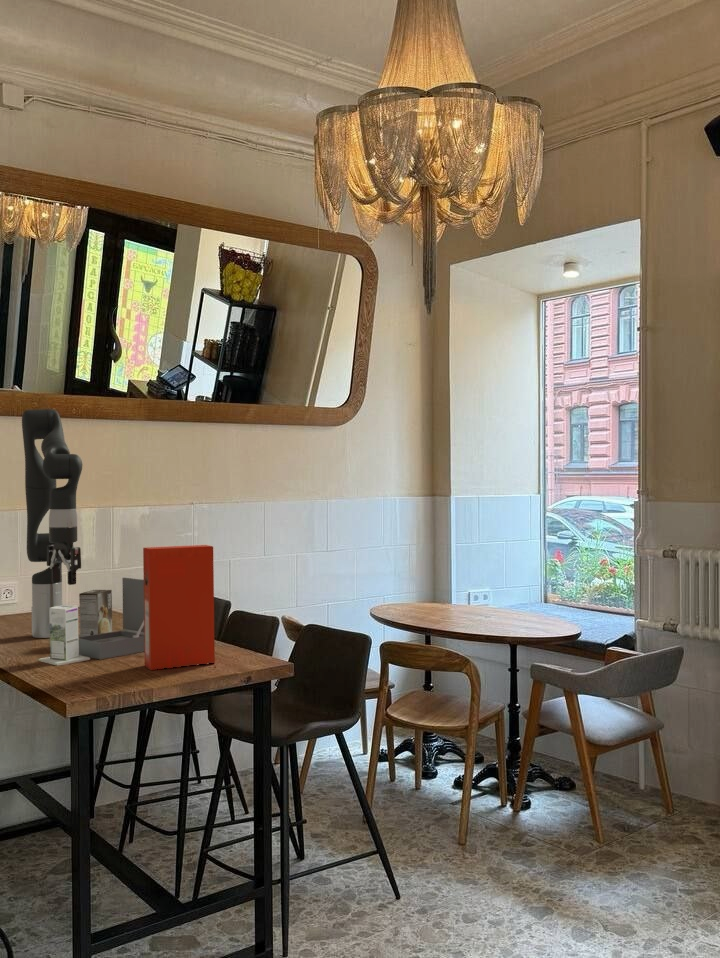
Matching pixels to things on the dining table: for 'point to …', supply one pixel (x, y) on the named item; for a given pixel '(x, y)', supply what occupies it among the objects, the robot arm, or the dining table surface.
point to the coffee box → (95, 612)
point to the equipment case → (132, 627)
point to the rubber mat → (62, 662)
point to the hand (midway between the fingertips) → (63, 583)
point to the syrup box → (64, 632)
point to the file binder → (178, 606)
